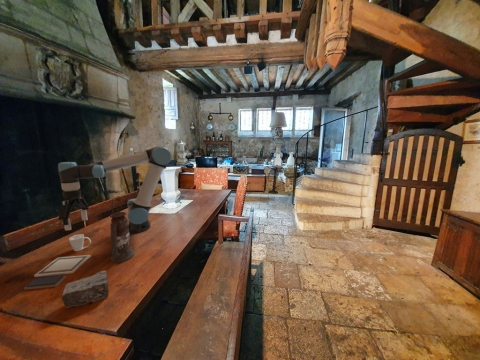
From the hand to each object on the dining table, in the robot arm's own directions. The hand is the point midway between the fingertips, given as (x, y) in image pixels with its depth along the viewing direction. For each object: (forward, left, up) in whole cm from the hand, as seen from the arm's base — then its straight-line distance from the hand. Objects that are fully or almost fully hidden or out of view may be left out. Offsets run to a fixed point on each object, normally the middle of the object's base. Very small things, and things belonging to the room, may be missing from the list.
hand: (77, 224), depth 105 cm
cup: (0, 0, -16) cm, 16 cm away
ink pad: (-3, +28, -16) cm, 33 cm away
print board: (-2, +16, -16) cm, 22 cm away
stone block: (-28, +39, -16) cm, 51 cm away
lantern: (-28, +12, -16) cm, 34 cm away
